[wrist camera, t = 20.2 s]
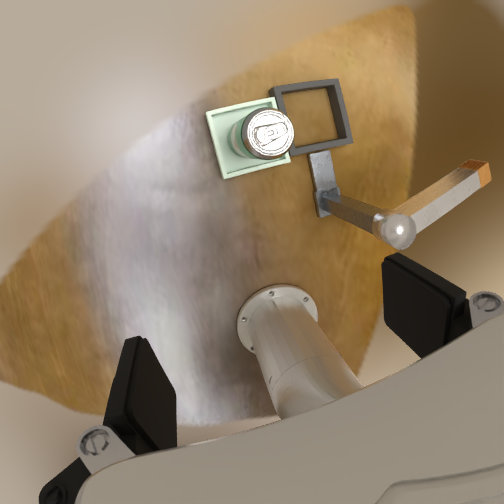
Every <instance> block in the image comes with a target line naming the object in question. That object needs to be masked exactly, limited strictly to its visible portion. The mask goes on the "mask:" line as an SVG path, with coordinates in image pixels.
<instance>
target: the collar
mask: <svg viewBox="0 0 504 504" xmlns="http://www.w3.org/2000/svg"><path fill="white" fill-rule="evenodd" d="M320 88H327V91H328V95H329V99H330V103H331V107H332V111H333V115H334V119H335V124H336V128H337V133H338V137H339V139H334V140H329V141H324V142H319V143H314V144H309V145H305V146H300V147H295V145H294V141H293V144H292V146H291V148H290V149H289V151H288V153H289V156H294V155H298V154H303V153H307V152H312V151H316V150H321V149H326V148H331V147H336V146H341V145H346V144H351V143H353V139H352V134H351V129H350V125H349V120H348V116H347V112H346V107H345V103H344V99H343V95H342V91H341V88H340V84H339V80H338V78H337V79H327V80H318V81H310V82H302V83H295V84H288V85H282V86H276V87H273V88H271V89H270V90H269V94H270V98H271V97H275V101H276V105H277V109H278V110H280V111H282V112H283V113H284V114H286V115H287V112H286V109H285V105H284V101H283V97H282V94H286V93H292V92H299V91H305V90H312V89H320Z"/></svg>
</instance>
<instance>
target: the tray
mask: <svg viewBox="0 0 504 504" xmlns="http://www.w3.org/2000/svg"><path fill="white" fill-rule="evenodd" d="M262 107H271V108H275V109H277V105H276V101H275V97H271V98H266V99H261V100H256V101H251V102H246V103H241V104H237V105H233V106H228V107H224V108H220V109H216V110H212V111H208V112H206V114H205V116H206V119H207V123H208V127H209V131H210V134H211V138H212V142H213V146H214V149H215V153H216V157H217V160H218V164H219V168H220V171H221V175H222V178H223V179H227V178H231V177H234V176H238V175H241V174H245V173H249V172H253V171H256V170H260V169H264V168H268V167H272V166H276V165H280V164H284V163H288V162H291V161H290V157H289V153H288V152H287V153H286V154H285V155H283V156H282V157H280V158H278V159H274V160H260V159H249V158H242V157H240V156H238V155H236V154H235V153H234V152H233V151H232V150H231V149H230V147H229V144H228V133H229V130H230V128H231V127H232V125H233V124H235V123H236V122H237V121H239V120H240V119H242V118H243V117H245V116H246V115H248V114H249V113H251V112H252V111H254V110H256V109H258V108H262Z"/></svg>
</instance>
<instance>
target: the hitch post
mask: <svg viewBox="0 0 504 504" xmlns="http://www.w3.org/2000/svg"><path fill="white" fill-rule="evenodd" d="M307 157H308V162H309V166H310V171H311V176H312V180H313V185H314V190H315V191H313V195H314V200H315V205H316V211H317V216H318V217H320V218H321V217H325V216H328V215H331V214H333V215H335V216H337V217H339V218H341V219H343V220H345V221H347V222H349V223H351V224H353V225H355V226H357V227H359V228H362V229H364V230H366V231H368V232H370V233H372V234H373V231H372V222H373V219H374V217H375V215H376V214H377V213H378V212H379V211H381V210H383V209H380V208H377V207H374V206H371V205H368V204H366V203H363V202H360V201H357V200H354V199H351V198H348V197H345V196H341V195H340V190H339V186H337V185H336V179H335V174H334V169H333V164H332V159H331V154H330V150H325V151H320V152H315V153H311V154H307Z"/></svg>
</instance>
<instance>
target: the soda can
mask: <svg viewBox="0 0 504 504" xmlns="http://www.w3.org/2000/svg"><path fill="white" fill-rule="evenodd" d="M293 141H294V128H293V125H292V122H291V121H290V119H289V118H288V116H287V115H286V114H284V113H283V112H282V111H280V110H278V109H275V108H271V107H262V108H258V109H256V110H254V111H252V112H251V113H249V114H248V115H246V116H245V117H243V118H242V119H240V120H239V121H237V122H236V123H235V124H233V125H232V127H231V128H230V130H229V133H228V144H229V147H230V149H231V150H232V151H233V152H234V153H235V154H236V155H238V156H240V157H242V158H249V159H260V160H274V159H278V158H280V157H282V156H283V155H285V154H286V153H287V152H288V151H289V149H290V148H291V146H292V144H293Z"/></svg>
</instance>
